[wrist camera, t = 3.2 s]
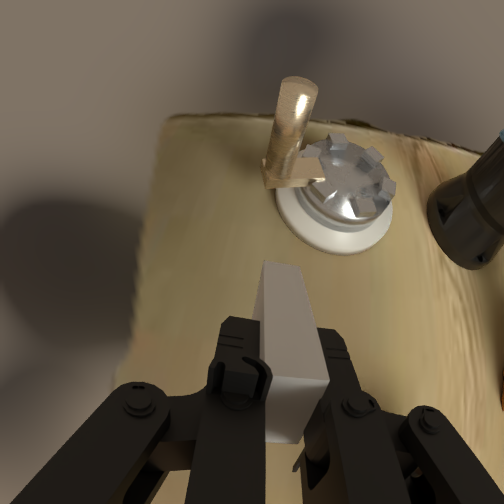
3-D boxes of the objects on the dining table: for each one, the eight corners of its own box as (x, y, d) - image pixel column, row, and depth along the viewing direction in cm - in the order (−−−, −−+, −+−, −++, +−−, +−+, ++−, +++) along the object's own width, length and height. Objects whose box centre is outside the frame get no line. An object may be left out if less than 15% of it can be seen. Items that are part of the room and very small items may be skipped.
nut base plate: (326, 141, 44) (330, 131, 42) (404, 212, 40) (411, 204, 38) (249, 190, 39) (251, 179, 37) (339, 280, 35) (346, 274, 33)
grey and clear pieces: (362, 156, 40) (408, 71, 26) (392, 228, 36) (464, 149, 21) (251, 158, 38) (267, 51, 23) (268, 240, 33) (302, 136, 19)
